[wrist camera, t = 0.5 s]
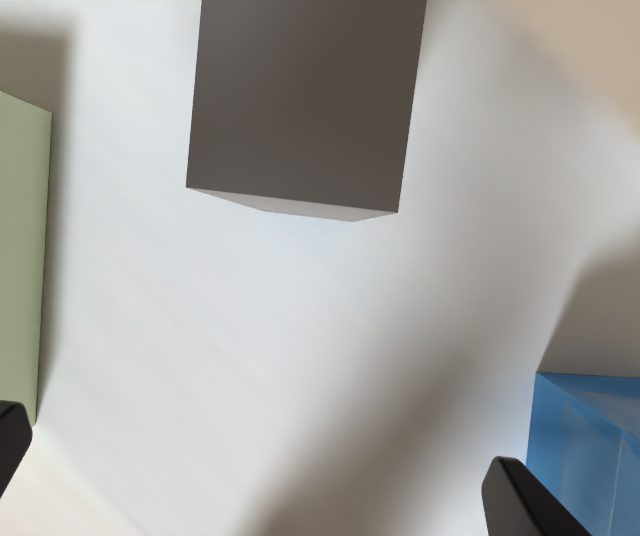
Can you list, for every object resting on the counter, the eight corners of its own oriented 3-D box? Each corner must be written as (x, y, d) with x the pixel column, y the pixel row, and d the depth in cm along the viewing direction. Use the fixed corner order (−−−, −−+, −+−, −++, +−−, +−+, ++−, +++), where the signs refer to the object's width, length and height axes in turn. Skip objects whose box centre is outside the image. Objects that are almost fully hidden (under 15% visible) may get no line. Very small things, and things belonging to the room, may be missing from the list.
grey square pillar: (352, 221, 21) (397, 212, 9) (263, 211, 21) (185, 187, 9) (366, 113, 20) (433, -54, 8) (274, 102, 20) (208, -83, 8)
